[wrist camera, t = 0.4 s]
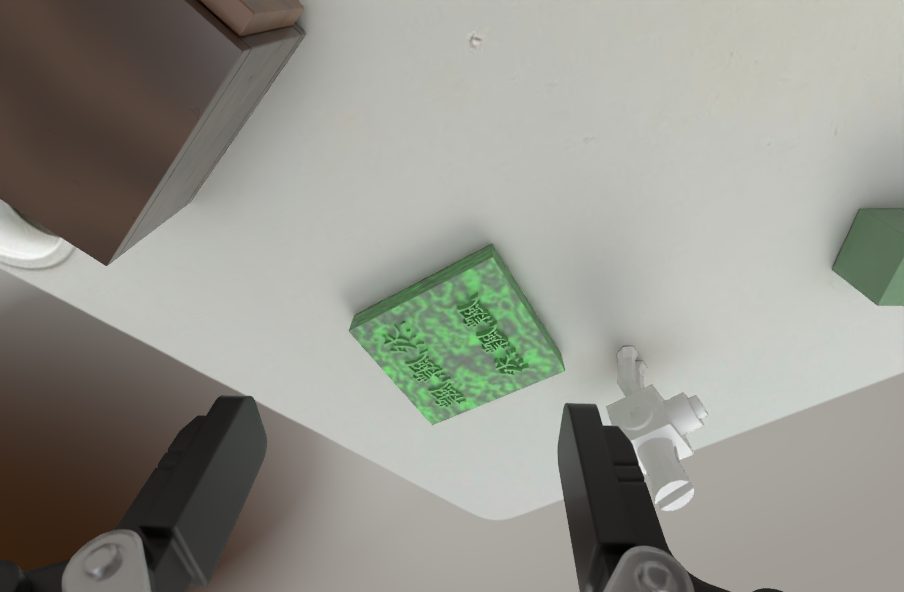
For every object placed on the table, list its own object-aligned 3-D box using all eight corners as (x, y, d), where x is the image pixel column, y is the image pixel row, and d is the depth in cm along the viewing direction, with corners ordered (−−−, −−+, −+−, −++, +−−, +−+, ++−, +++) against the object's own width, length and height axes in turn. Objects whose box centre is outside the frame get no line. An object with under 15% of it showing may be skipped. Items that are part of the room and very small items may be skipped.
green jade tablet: (561, 354, 38) (566, 375, 36) (433, 408, 42) (431, 429, 40) (491, 244, 33) (493, 261, 31) (354, 316, 37) (347, 335, 35)
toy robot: (567, 373, 39) (600, 507, 29) (656, 326, 36) (726, 457, 26) (592, 401, 41) (632, 537, 31) (679, 358, 38) (754, 493, 28)
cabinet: (76, -186, 22) (-123, -272, 15) (306, 33, 27) (243, 51, 19) (-13, 55, 28) (-189, 80, 20) (190, 202, 32) (106, 266, 25)
